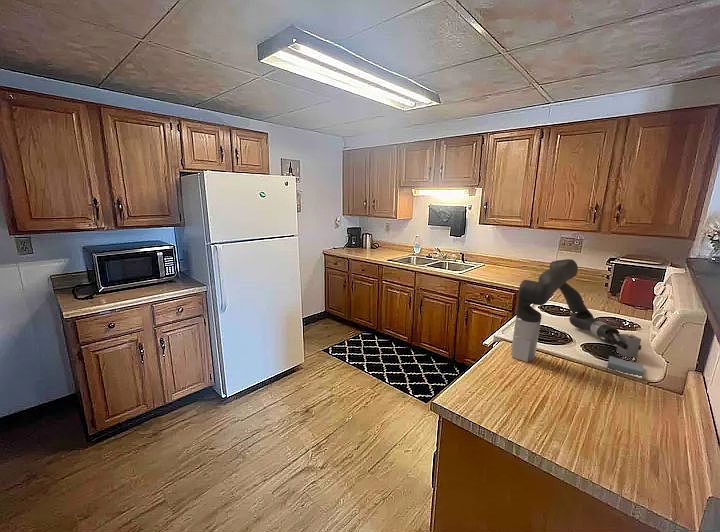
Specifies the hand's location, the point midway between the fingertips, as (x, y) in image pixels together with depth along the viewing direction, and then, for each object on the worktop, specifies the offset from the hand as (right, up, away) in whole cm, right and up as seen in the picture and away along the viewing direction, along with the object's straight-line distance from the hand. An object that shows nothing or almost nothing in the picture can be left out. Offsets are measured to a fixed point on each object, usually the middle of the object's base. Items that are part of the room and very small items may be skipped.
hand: (633, 347), depth 138 cm
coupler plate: (-9, -7, -6) cm, 13 cm away
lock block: (0, -5, +4) cm, 7 cm away
